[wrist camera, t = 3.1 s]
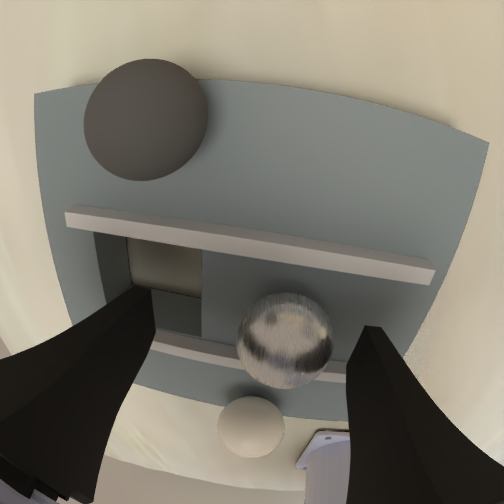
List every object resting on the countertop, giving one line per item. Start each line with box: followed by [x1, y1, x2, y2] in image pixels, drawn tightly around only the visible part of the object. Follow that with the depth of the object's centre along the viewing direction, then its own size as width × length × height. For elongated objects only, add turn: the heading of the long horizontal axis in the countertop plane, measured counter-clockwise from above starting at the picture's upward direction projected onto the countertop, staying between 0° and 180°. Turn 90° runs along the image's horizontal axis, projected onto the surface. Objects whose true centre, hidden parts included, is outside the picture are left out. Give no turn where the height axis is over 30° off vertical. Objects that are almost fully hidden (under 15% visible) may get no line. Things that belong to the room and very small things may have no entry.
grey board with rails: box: [34, 79, 489, 421], centre depth 12 cm, size 16×15×3 cm
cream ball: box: [217, 396, 285, 458], centre depth 13 cm, size 3×3×3 cm
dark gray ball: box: [83, 59, 208, 181], centre depth 7 cm, size 3×3×3 cm
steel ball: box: [236, 292, 334, 389], centre depth 10 cm, size 3×3×3 cm
